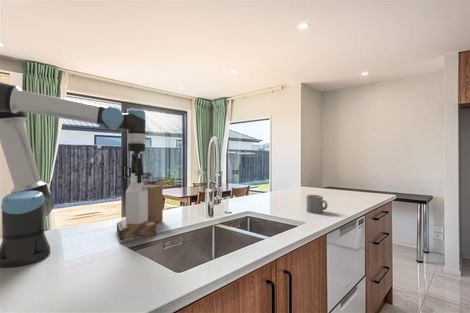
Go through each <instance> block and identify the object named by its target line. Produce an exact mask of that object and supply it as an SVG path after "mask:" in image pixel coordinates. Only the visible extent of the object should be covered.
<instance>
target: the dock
mask: <svg viewBox="0 0 470 313" xmlns="http://www.w3.org/2000/svg"><path fill="white" fill-rule="evenodd" d="M116 233H118V234H117V236H118V238H119V241H120V240H121V241H126V240H125V239H127V240H132V239H131V238H133V239H138V238H137V237H140V238H145V237H151V236H156V235H157V223H154V222H153V221H152V219H151V218H150V217H149V218H148V221H146V222H144V223H142V224H140V225H136V224H126V219H125V220H119V222H118V221H117V222H116Z"/></svg>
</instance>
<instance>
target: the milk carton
mask: <svg viewBox="0 0 470 313" xmlns="http://www.w3.org/2000/svg"><path fill="white" fill-rule="evenodd" d="M144 185H145V183H144V182H143V181H142V190H137V191H136V190H135V189H136V182H131V181H130V182H129V186H128V187H127V188H126V191H125V220H126V224H136V225H140V224H142V223H144V222H146V221H148V190H147V188H146V187H145V186H144Z"/></svg>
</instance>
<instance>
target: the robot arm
mask: <svg viewBox="0 0 470 313" xmlns="http://www.w3.org/2000/svg"><path fill="white" fill-rule="evenodd" d="M26 113H27V114H33V115H38V116H39V115H40V116H46V117H52V118H58V119H63V120H64V119H65V120H71V121H76V122H77V121H78V122H83V123H88V124H95V125H98V128H100V129H103V130H125V131H127V132H128V133H127V142H128V144H127V151H128V152H131V161H130V170H129V171H130V175H131V176H130V182H136V189H135V190H136V191H137V190H142V182H143V175H144V166H143V164H144V163H143V153H144V152H146V144H145V143H146V139H147V136H146V122H147V121H146V112H145V111H144V110H143V109H140V108H139V109H136V108H135V109H134V108H132V109H130V108H129V110H128V112H127V113H125V112H124V113H123V111H121V110H120V108H118V107H116V106H105V105H99V104H94V103H90V102H84V101H79V100H75V99H68V98H63V97H58V96H53V95H48V94H44V93H38V92H32V91H28V90H23V89H22V88H20V86H18V85H12V84H9V83H4V82H0V145H1V149H2V152H3V155H4V158H5V162H6V164H7V167H8V172H9V174H10V177H11V181H12V183H13V184H12V185H13V189H12V190H11V191H10V193H9V194H6V195H5V196H4V197H3V198H2V200H1V206H0V209H1V228H2V229H1V230H2V231H1V233H2V236H1V237H2V240H1V243H0V268H13V267H15V268H16V267H20V266H26V265H29V264H33V263H36V262H39V261H42V260H44V259H46V258H48V257H49V256H50V255H51V246H50V243H49V241H48V239H47V237H46V235H45V234H46V233H45V217H47V216H48V215H49V214H50V213H51V212H52V211H53V209H54V207H55V197H54V195H53V194H52V192H50V191H49V190H50V189H49V187H48V184H47V183H46V182H45V181H42V180H41V177H40V173H39V170H38V166H37V163H36V159H35V157H34V154H33V150H32V147H31V143H30V139H29V136H28V133H27V130H26V127H25V123H26V121H27V120H28V118H27V114H26ZM141 152H143V153H141Z"/></svg>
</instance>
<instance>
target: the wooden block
mask: <svg viewBox="0 0 470 313" xmlns="http://www.w3.org/2000/svg"><path fill="white" fill-rule="evenodd" d="M144 186H145V187H146V188H147V190H148V218H149V217H150V218H151V219H152V221H153V222H154V223H155V224H158V223H161V222H163V215H164V214H163V212H164V211H163V203H164V202H163V200H164V198H163V185H161V184H144Z"/></svg>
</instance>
